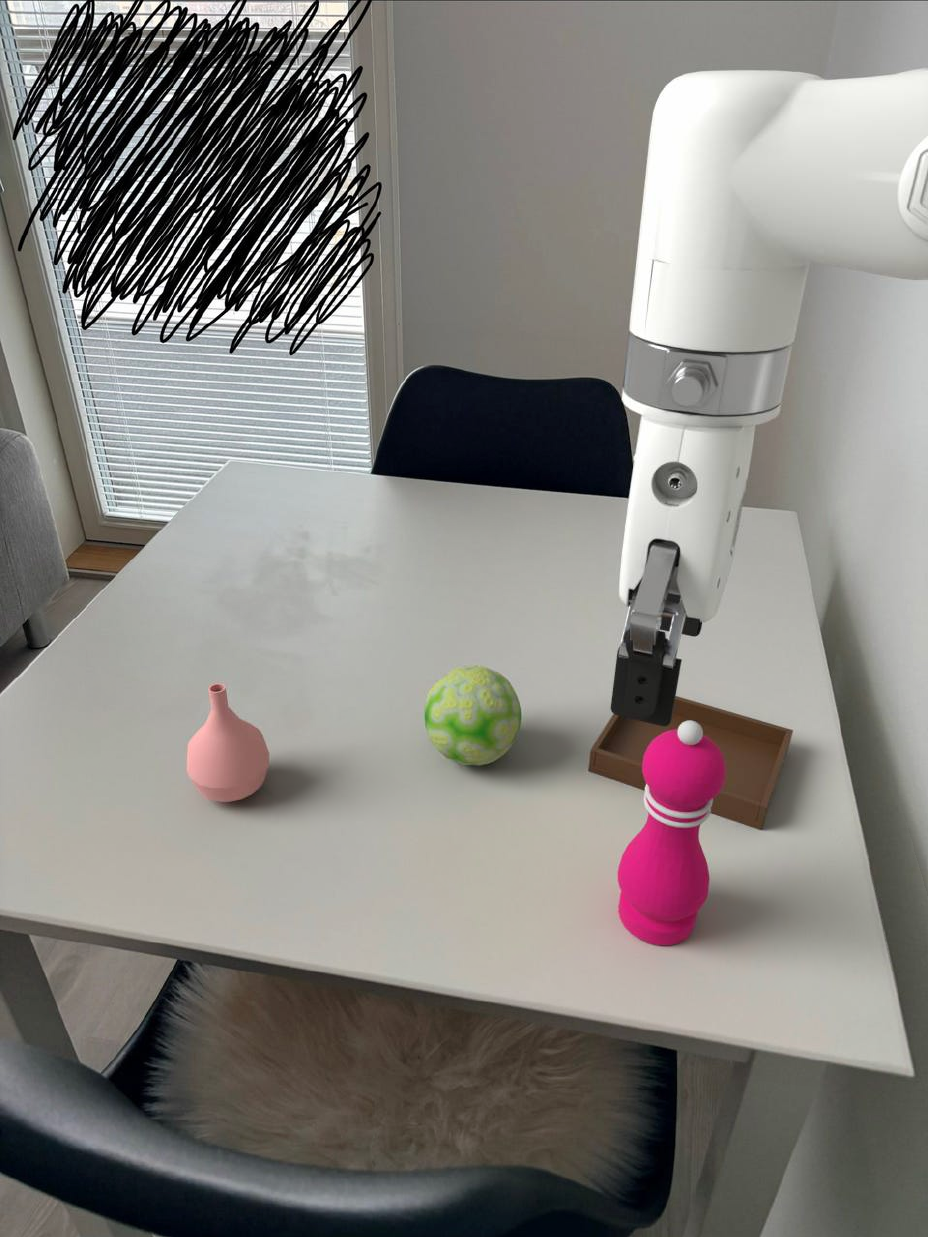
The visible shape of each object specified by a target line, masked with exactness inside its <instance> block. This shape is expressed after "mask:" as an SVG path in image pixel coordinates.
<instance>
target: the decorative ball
mask: <svg viewBox="0 0 928 1237" xmlns="http://www.w3.org/2000/svg"><path fill="white" fill-rule="evenodd" d="M512 685H513V684H511V682H510V681H509V679H507V678H506V677H505V676H504V675H503V674H501V672H498V671H496V670H493V669H490V668H488V667H486V666H479V665H465V666H460V667H457V668H454V669H452V670H450V671H449V672H447V673H445V675H443V677H441V678H440V679H438V680H437V681H436V682H435V683H434V684H433V686H432V687H431V688H430V689H429V692H428V693H427V695H426V698H425V703H424V723H425V724H424V726H425V728H426V732H427V734H428V738H429V740H430V741H431V743H432V745H433V746H434V747H435V748H436V749H437V750H438V752H440V754H442V756H444V757H445V758H446V759H449V760H451V761H453V762H455V763H456V764H458V765H462V766H484V765H488V764H491V763H494V762H495V761H497V760H498V759H500V758H501V757H502V756H504V755H505V754H506V753H507V752H508V751H509V750H510V748H511V747H512V746H513V744H514V743H515V741H516V739H517V737H518V735H519V732H520V729H521V726H522V725H521V724H522V708H521V702H520V700H519V699H520V698H519V696H518V694H517V692H516V690H515V688H514V686H512Z"/></svg>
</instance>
